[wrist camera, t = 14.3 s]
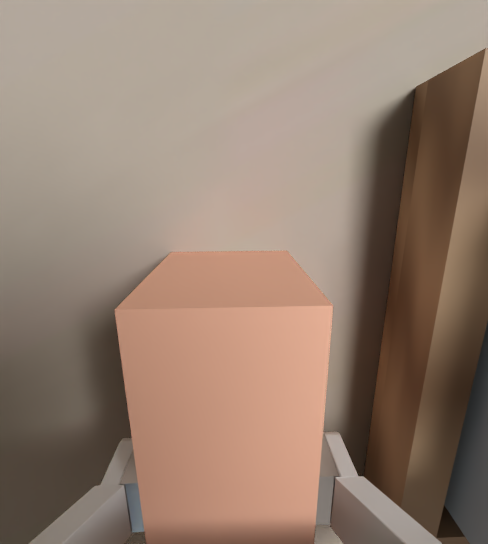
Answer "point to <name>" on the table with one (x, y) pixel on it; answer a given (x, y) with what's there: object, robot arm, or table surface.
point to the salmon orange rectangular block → (226, 397)
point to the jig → (434, 298)
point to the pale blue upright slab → (472, 461)
